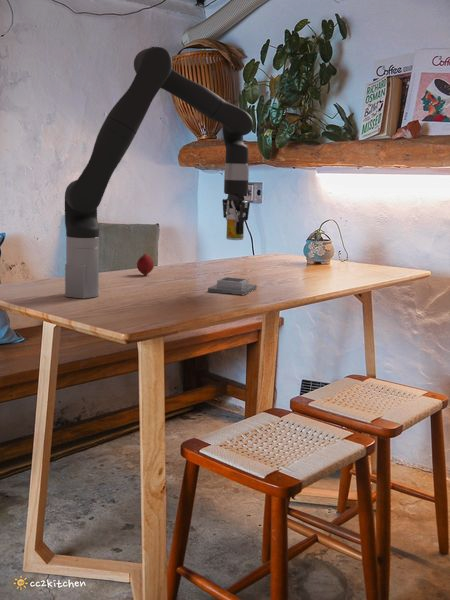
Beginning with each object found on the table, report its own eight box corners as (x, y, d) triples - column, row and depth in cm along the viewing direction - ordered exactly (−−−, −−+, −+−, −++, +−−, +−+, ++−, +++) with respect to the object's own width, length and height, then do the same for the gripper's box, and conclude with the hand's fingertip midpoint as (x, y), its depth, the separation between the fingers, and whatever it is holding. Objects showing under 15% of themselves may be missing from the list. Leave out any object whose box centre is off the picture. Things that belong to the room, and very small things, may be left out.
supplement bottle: (223, 238, 217) (224, 207, 215) (239, 238, 219) (240, 207, 217) (230, 240, 212) (230, 208, 210) (246, 240, 214) (247, 208, 212)
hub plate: (244, 295, 210) (245, 284, 210) (207, 291, 214) (208, 281, 213) (256, 288, 223) (257, 278, 223) (221, 285, 227) (222, 275, 226)
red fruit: (145, 277, 236) (145, 254, 235) (133, 275, 240) (133, 252, 238) (156, 275, 241) (157, 253, 239) (144, 273, 244) (145, 251, 243)
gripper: (258, 179, 207) (256, 235, 211) (236, 178, 220) (234, 230, 223) (236, 179, 204) (235, 235, 207) (215, 177, 216) (214, 231, 220)
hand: (234, 232), depth 215 cm, fingers closed on supplement bottle, 5 cm apart
